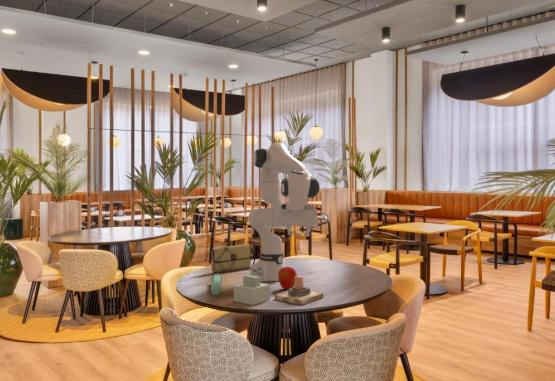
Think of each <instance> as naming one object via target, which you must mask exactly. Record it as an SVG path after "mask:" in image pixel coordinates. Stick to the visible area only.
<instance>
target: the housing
mask: <svg viewBox="0 0 555 381" xmlns="http://www.w3.org/2000/svg"><path fill="white" fill-rule="evenodd" d="M242 282H243V283H240V284H235V285H233V302H237V303H242V304H245V305H249V306H255V305H258V304H261V303H264V302H267V301H270V300H271V292H270V290H271V288H270V287H271V286H270V283H262V282H261V281H260V277H257V276H252V275H248V274H246V275H242Z"/></svg>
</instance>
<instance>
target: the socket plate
mask: <svg viewBox="0 0 555 381" xmlns="http://www.w3.org/2000/svg"><path fill="white" fill-rule="evenodd" d="M323 298H324V293H322V292H319V291H313V290H311V288H310V287H304V286H303V290H301V291H299V290H295V286H294V287H293V288H290V289H288V290H285V291H283V292H280V293H276V294H274V300H277V301H282V302H286V303H290V304H295V305H300V306H304V305H307V304H309V303H312V302H315V301H317V300H318V301H319V300H320V299H323Z"/></svg>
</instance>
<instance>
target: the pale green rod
mask: <svg viewBox="0 0 555 381" xmlns="http://www.w3.org/2000/svg"><path fill="white" fill-rule="evenodd" d="M222 278H223V277H222V276H221V274H219V273H213V275H211V279H210V280H211V281H210V282H211V284H210V285H211V287H210V293H211V295H213V296H219V295H220V294H221V292H222V282H223V279H222Z"/></svg>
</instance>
